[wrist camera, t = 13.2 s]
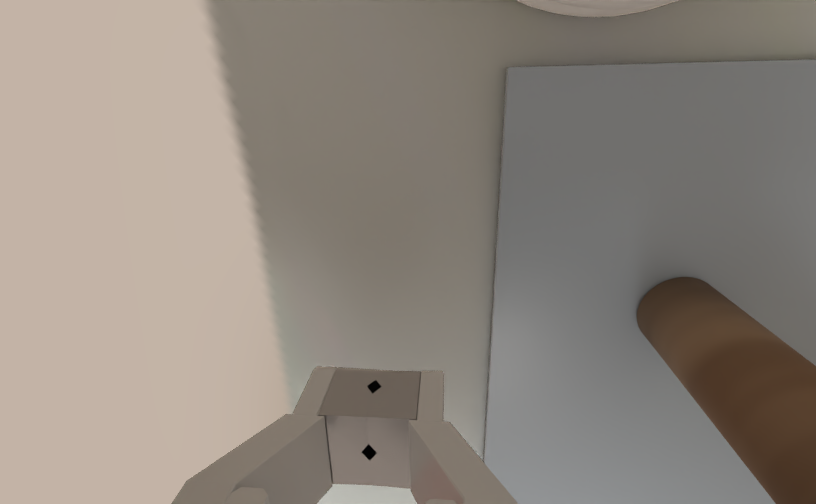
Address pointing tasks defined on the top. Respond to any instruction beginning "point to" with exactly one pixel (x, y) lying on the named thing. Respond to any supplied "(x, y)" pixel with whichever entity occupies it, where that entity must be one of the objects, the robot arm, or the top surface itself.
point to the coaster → (595, 6)
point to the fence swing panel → (739, 382)
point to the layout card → (640, 266)
